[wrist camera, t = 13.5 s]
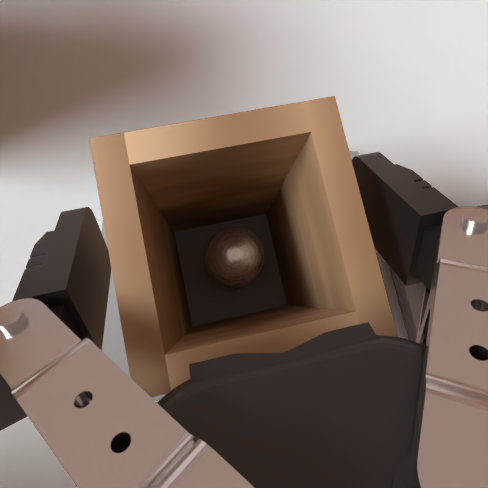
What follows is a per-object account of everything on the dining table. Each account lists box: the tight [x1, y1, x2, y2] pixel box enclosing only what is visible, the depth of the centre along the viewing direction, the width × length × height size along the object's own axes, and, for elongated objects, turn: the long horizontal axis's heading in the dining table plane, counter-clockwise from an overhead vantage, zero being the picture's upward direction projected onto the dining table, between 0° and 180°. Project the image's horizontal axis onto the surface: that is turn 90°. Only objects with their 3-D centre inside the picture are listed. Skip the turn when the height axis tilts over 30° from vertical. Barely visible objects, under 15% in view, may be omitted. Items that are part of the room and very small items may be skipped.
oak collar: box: [89, 96, 398, 397], centre depth 13 cm, size 6×6×9 cm
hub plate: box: [102, 151, 358, 400], centre depth 16 cm, size 12×12×7 cm
